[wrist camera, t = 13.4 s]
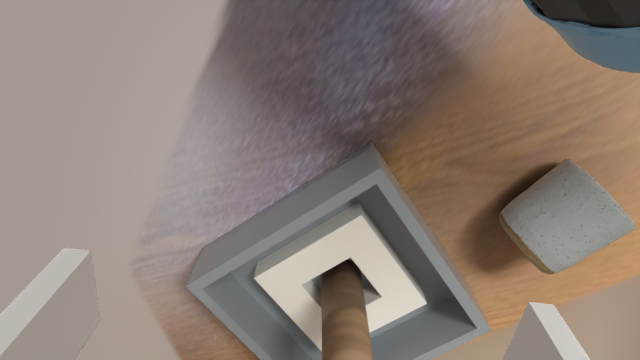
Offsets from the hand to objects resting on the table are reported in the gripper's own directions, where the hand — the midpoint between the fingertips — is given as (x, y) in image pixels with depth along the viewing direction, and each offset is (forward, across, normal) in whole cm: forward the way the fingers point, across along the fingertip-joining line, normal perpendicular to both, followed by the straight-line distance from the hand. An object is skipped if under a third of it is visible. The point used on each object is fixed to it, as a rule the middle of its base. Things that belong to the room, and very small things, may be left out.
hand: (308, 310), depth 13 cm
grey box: (+25, +4, -18) cm, 31 cm away
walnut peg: (+24, +4, -18) cm, 30 cm away
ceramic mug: (+26, +23, -8) cm, 36 cm away
